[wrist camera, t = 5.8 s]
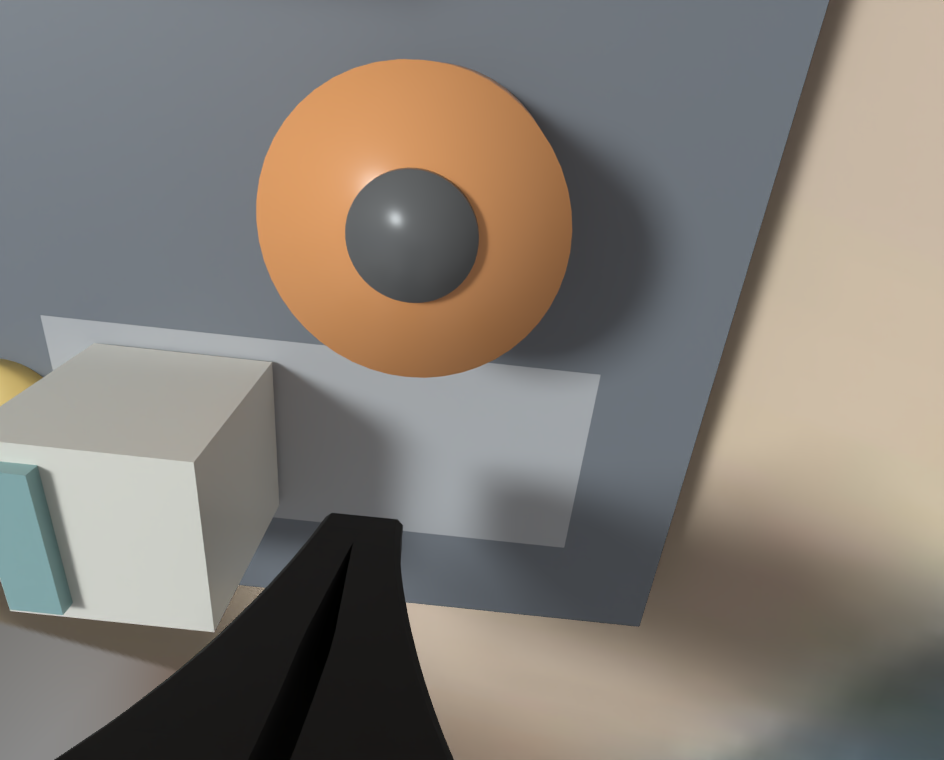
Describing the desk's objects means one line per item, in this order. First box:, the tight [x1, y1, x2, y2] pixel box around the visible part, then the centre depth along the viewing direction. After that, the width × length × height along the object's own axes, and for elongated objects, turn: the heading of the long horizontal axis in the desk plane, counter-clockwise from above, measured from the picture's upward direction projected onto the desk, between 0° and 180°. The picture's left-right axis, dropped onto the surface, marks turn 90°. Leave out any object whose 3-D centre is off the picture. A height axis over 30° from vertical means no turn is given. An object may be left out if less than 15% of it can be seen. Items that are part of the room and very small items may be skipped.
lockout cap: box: [256, 59, 572, 378], centre depth 11 cm, size 5×5×3 cm
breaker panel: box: [0, 0, 829, 627], centre depth 12 cm, size 18×24×2 cm
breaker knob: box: [0, 343, 279, 632], centre depth 13 cm, size 4×4×4 cm
